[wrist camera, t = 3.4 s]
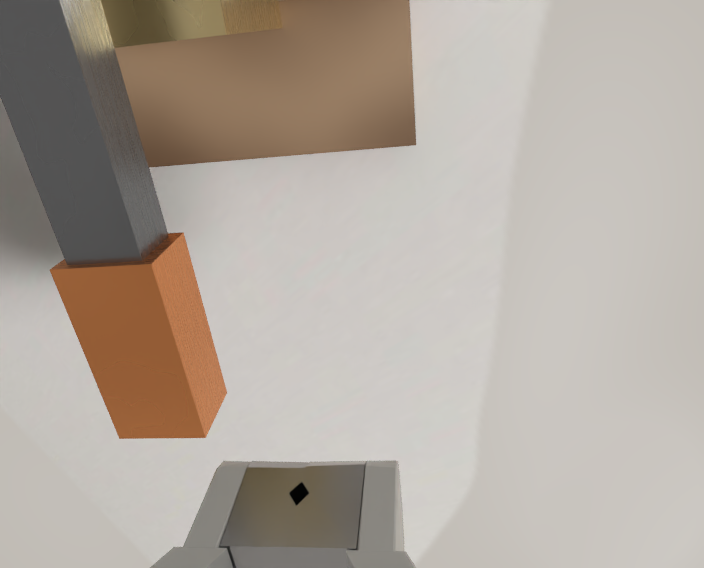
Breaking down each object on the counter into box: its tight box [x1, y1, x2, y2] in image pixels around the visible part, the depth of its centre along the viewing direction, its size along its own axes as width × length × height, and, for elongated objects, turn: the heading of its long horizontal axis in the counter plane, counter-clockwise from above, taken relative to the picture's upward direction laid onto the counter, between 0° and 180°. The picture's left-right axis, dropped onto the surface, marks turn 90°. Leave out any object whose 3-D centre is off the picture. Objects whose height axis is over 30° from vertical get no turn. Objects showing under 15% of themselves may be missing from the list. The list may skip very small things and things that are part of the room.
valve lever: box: [0, 0, 227, 439], centre depth 11 cm, size 13×3×2 cm, turn 6°
